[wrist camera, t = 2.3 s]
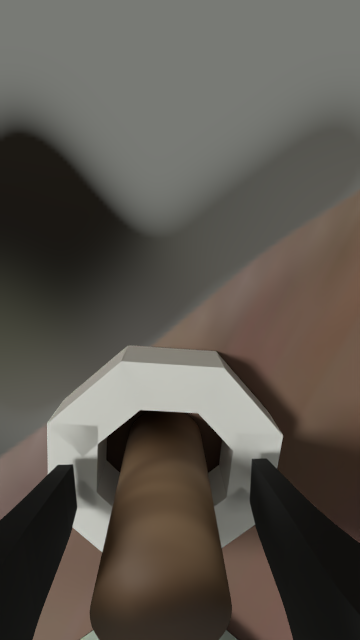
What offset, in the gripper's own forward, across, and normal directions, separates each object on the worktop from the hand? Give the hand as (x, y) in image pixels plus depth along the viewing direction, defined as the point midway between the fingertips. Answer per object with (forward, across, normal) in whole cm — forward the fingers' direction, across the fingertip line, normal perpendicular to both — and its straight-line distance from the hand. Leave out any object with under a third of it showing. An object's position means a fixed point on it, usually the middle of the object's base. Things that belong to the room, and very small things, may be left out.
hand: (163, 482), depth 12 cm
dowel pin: (+3, 0, 0) cm, 3 cm away
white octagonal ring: (+3, 0, 0) cm, 3 cm away
